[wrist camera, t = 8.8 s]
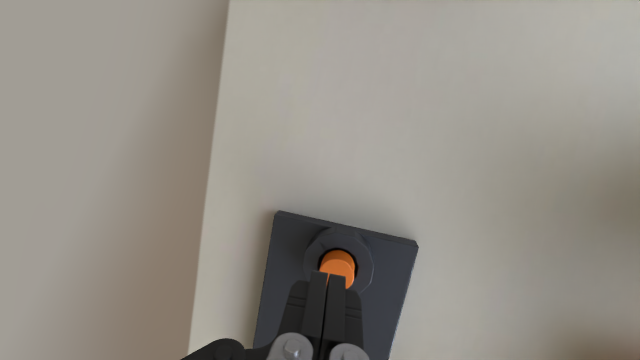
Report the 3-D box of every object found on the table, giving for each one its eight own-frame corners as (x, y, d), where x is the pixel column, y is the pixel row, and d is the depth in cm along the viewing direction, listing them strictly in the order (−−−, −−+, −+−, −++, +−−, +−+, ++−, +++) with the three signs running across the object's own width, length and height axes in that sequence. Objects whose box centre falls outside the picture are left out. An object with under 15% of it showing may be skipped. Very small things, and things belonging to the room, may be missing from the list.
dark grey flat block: (376, 388, 28) (378, 418, 25) (254, 355, 29) (242, 380, 27) (416, 237, 25) (424, 252, 22) (279, 207, 26) (269, 217, 24)
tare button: (350, 283, 24) (350, 295, 22) (319, 276, 24) (315, 287, 23) (357, 253, 23) (357, 263, 22) (325, 246, 24) (322, 255, 22)
